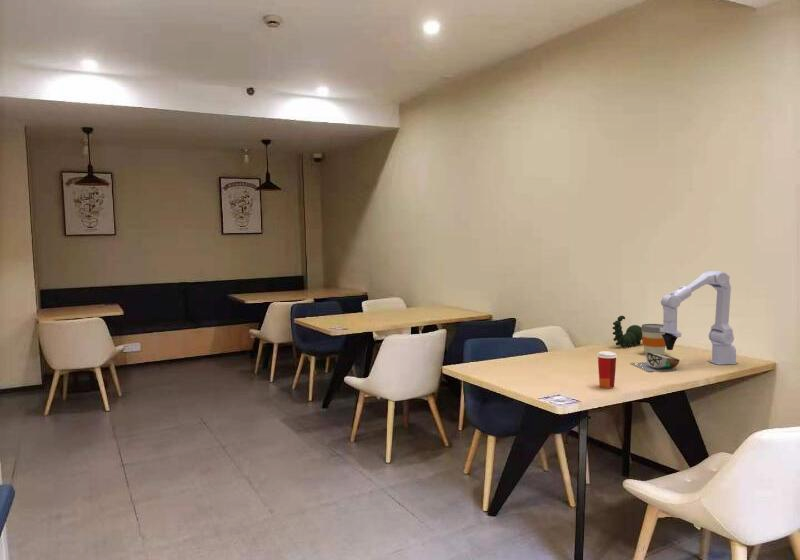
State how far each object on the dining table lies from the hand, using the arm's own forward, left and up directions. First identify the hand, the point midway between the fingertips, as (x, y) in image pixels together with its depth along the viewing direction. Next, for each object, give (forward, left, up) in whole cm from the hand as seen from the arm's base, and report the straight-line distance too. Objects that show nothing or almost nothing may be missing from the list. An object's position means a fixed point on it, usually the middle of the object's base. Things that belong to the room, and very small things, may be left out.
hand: (669, 349), depth 259 cm
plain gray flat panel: (+8, -1, -8) cm, 11 cm away
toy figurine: (-6, -49, -8) cm, 50 cm away
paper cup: (+43, +27, -8) cm, 52 cm away
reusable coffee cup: (-7, -26, -8) cm, 28 cm away
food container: (0, +2, -6) cm, 6 cm away
